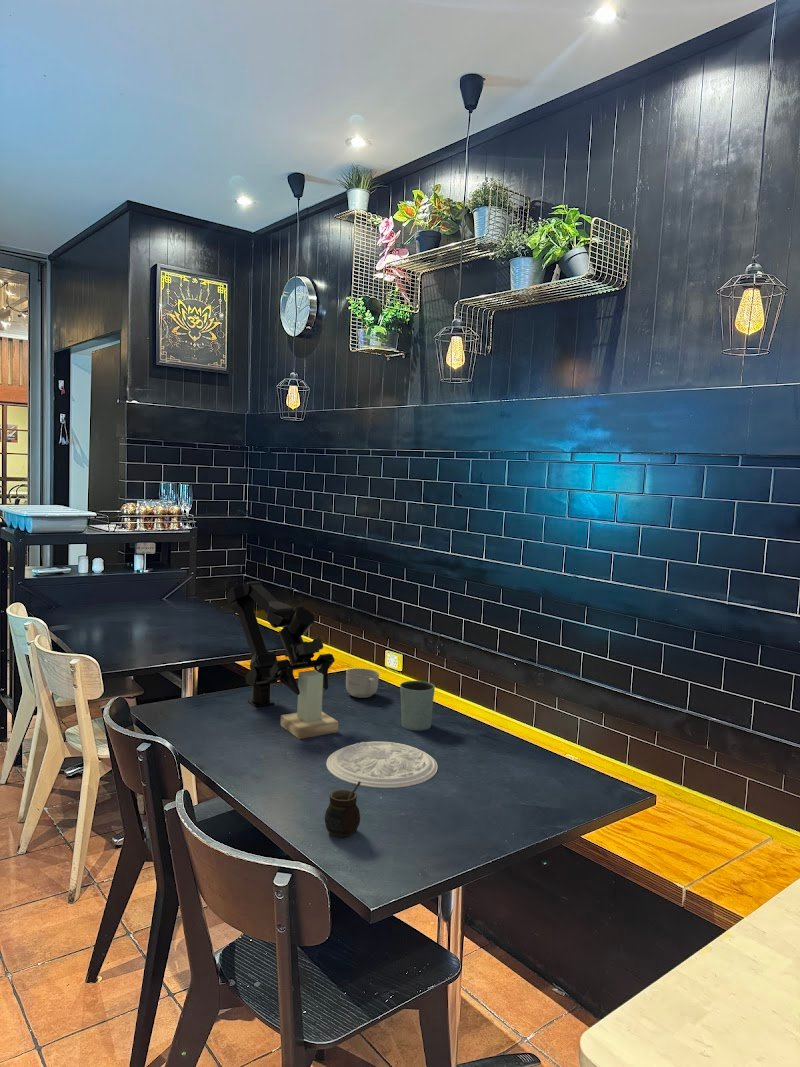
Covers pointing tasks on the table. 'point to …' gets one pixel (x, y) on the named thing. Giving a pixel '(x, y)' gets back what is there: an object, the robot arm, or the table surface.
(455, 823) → the table surface
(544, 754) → the table surface
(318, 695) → the sage pillar
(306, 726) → the maple base
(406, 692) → the grey-green cup
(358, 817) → the mate gourd
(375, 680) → the teacup
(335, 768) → the ceiling medallion
